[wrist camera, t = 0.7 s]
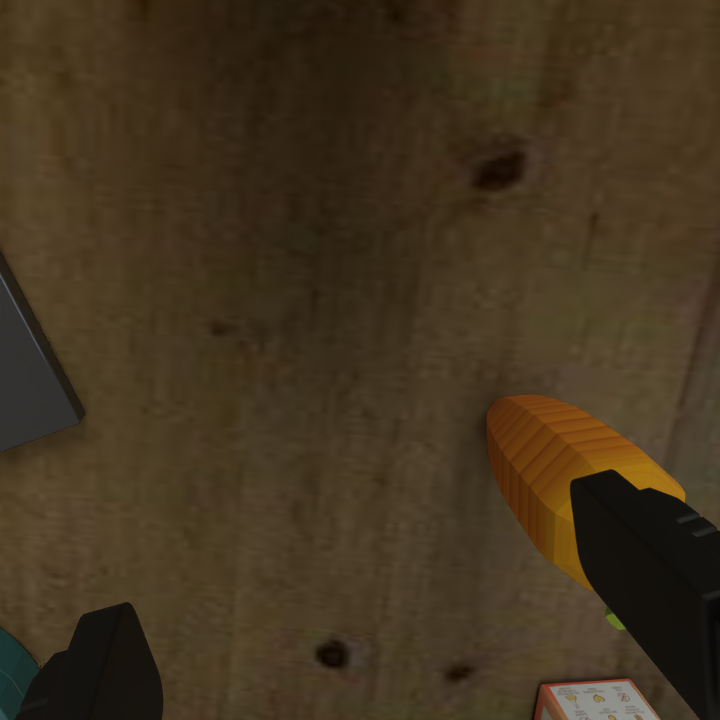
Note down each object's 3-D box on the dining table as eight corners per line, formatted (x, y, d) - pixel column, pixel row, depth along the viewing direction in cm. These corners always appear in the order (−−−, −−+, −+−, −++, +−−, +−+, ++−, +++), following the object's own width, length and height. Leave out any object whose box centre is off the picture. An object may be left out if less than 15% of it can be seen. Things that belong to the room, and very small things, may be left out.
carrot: (431, 441, 30) (588, 686, 16) (468, 342, 29) (672, 514, 15) (524, 464, 32) (746, 713, 18) (564, 371, 31) (835, 555, 16)
